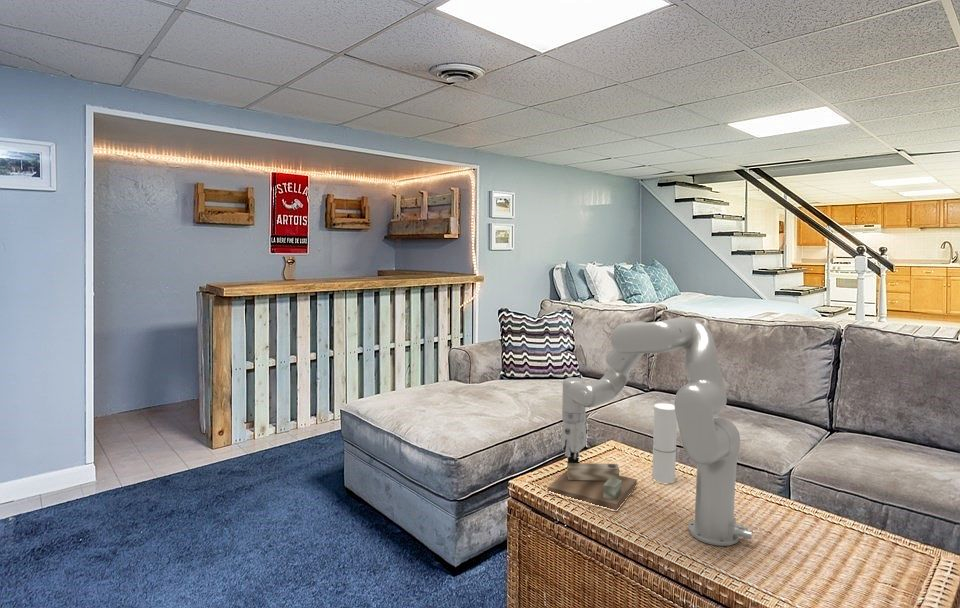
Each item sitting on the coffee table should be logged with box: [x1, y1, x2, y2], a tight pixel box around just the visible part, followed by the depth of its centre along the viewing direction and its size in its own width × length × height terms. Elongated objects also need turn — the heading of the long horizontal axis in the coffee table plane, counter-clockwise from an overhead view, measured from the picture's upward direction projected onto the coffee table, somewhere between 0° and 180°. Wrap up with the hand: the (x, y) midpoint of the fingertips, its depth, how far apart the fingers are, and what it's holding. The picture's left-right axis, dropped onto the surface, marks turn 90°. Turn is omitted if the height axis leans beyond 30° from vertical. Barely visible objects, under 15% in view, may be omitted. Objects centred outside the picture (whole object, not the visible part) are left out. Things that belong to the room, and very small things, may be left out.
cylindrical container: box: [651, 402, 678, 483], centre depth 179 cm, size 7×7×25 cm
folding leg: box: [566, 462, 620, 481], centre depth 175 cm, size 16×4×4 cm, turn 86°
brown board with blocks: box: [547, 470, 638, 510], centre depth 172 cm, size 22×20×6 cm
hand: (573, 469), depth 180 cm, fingers closed
